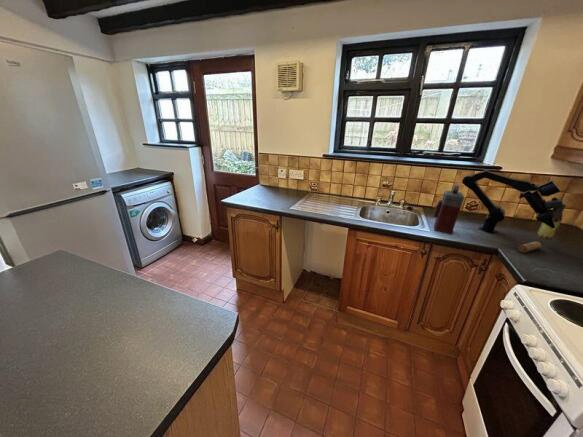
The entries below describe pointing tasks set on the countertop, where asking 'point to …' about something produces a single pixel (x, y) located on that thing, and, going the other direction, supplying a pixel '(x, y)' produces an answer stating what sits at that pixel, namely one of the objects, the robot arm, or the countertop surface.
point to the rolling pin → (529, 247)
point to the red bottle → (448, 210)
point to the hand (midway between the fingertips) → (553, 225)
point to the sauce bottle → (546, 230)
